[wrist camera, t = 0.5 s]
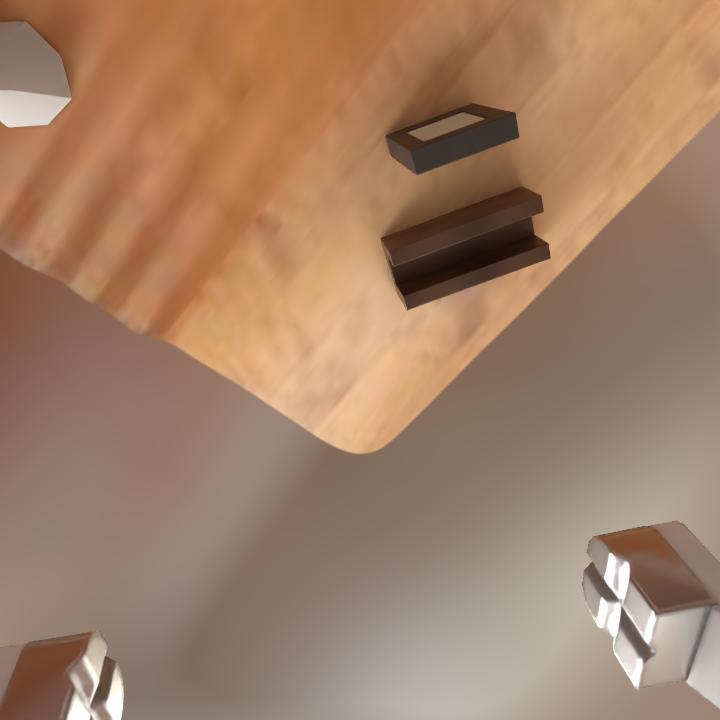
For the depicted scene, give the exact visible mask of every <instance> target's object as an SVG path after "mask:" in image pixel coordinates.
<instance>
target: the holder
mask: <svg viewBox="0 0 720 720" xmlns="http://www.w3.org/2000/svg"><path fill="white" fill-rule="evenodd" d="M542 212H544V211H543V204H542V197H541V195H539V194H537V193H535V192H533V191H531V190H529V189H527V188H525V187H520V188H517V189H514V190H512V191H509V192H506V193H503V194H501V195H498V196H495V197H492V198H490V199H487V200H484V201H481V202H479V203H476V204H473V205H471V206H468V207H465V208H462V209H460V210H457V211H454V212H451V213H449V214H446V215H443V216H441V217H438V218H435V219H432V220H430V221H427V222H424V223H421V224H419V225H416V226H413V227H410V228H408V229H405V230H402V231H400V232H397V233H394V234H391V235H389V236H386V237H383V238H381V242H382V245H383V249H384V252H385V255H386V258H387V261H388V265H389V268H390V271H391V274H392V278H393V281H394V284H395V287H396V291H397V294H398V296H399V297H400V299H401V301H402V302H403V304H404V306H405V308H406V309H407V310H410V309H412V308H415V307H418V306H421V305H423V304H426V303H429V302H432V301H434V300H437V299H440V298H443V297H445V296H448V295H451V294H454V293H456V292H459V291H462V290H465V289H467V288H470V287H473V286H476V285H478V284H481V283H484V282H487V281H489V280H492V279H495V278H497V277H500V276H503V275H506V274H508V273H511V272H514V271H517V270H519V269H522V268H525V267H528V266H530V265H533V264H536V263H539V262H541V261H544V260H547V259H550V258H551V257H550V251H549V244H548V243H547V242H545V241H544V240H542V239H541V238H539V237H537V236H536V235H534V229H533V223H532V217H531V216H533V215H536V214H539V213H542Z"/></svg>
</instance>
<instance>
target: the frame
mask: <svg viewBox="0 0 720 720" xmlns="http://www.w3.org/2000/svg"><path fill="white" fill-rule="evenodd" d="M517 138H519V133H518V127H517V120H516V114H515V112H510V111H505V110H500V109H496V108H491V107H487V106H482V105H478V104H470V105H468V106H465V107H462V108H459V109H457V110H454V111H451V112H449V113H446V114H443V115H440V116H438V117H435V118H432V119H430V120H427V121H424V122H421V123H419V124H416V125H413V126H411V127H408V128H405V129H402V130H400V131H397V132H394V133H392V134H389V135H386V139H387V143H388V147H389V150H390V154H391V156H392V157H393V158H394V159H396V160H397V161H398V162H400V163H401V164H402V165H404V166H405V167H407V168H408V169H409V170H411V171H412V172H413V173H414V174H416V175H419V174H422V173H424V172H427V171H430V170H432V169H435V168H438V167H441V166H443V165H446V164H449V163H452V162H454V161H457V160H460V159H462V158H465V157H468V156H471V155H473V154H476V153H479V152H481V151H484V150H487V149H490V148H492V147H495V146H498V145H501V144H503V143H506V142H509V141H511V140H514V139H517Z"/></svg>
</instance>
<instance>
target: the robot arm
mask: <svg viewBox="0 0 720 720" xmlns="http://www.w3.org/2000/svg"><path fill="white" fill-rule="evenodd" d="M587 553H588V555H589V557H590V558H591V560H592V562H591V563H590V565H589V566H588V567H587V568H586V569H585V570H584V575H583V583H582V585H583V590H584V595H585V600H586V603H587V605H588V608H589V610H590V612H591V614H592V616H593V618H594V620H595V621H596V623H597V625H598V627H600V628H601V629H603V630H605V631H606V632H608V633H609V634H611V635H612V636H614V637H615V638H614V648H613V652H614V653H615V655H616V656H617V658H618V660H619V662H620V663H621V665H622V666H623V668H624V670H625V671H626V673H627V675H628V676H629V678H630V680H631V681H632V683H633V685H634V686H635V688H636V689H641V688H646V687H652V686H657V685H662V684H668V683H673V682H678V681H684V680H687V684H688V685H690V686H691V687H692V688H694V689H695V690H696V691H697V692H699V693H700V694H702V695H703V696H704V697H706V698H707V699H708V700H709V701H711V702H712V703H713V704H715V705H716V706H717V707H719V708H720V562H719V561H718V560H717V559H716V558H715V557H714V556H713V555H712V554H711V553H710V552H709V550H708V549H707V548H706V547H705V546H704V545H703V544H702V543H701V542H700V541H699V540H698V539H697V538H696V536H695V535H694V534H693V533H692V532H691V531H690V530H689V529H688V528H687V527H686V526H685V525H684V524H682V523H680V522H679V521H672V522H667V523H662V524H657V525H651V526H647V527H646V526H642V527H637V528H633V529H628V530H623V531H618V532H613V533H608V534H603V535H599V536H594V537H592V539H591V540H590V541H589V544H588V549H587ZM107 645H108V643H107V641H106V639H105V637H104V636H103V634H102V632H101V631H95V632H88V633H82V634H77V635H70V636H64V637H57V638H52V639H46V640H39V641H33V642H27V643H21V644H16V645H10V646H4V647H0V720H120V718H121V712H122V707H123V682H122V676H121V672H120V669H119V667H118V664H117V662H116V661H114V660H112V659H110V658H108V657H106V656H105V654H106V650H107Z"/></svg>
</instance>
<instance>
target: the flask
mask: <svg viewBox="0 0 720 720" xmlns="http://www.w3.org/2000/svg"><path fill="white" fill-rule="evenodd" d="M71 99H72V96H71V92H70V88H69V85H68V81H67V77H66V73H65V70H64V66H63V62H62V58H61V56H60V55H59V54H58V53H57V52H56V51H55V50H54V49H53V48H52V47H51V46H50V45H49V44H48V43H47V42H46V41H45V40H44V39H43V38H42V37H41V36H40V35H39V34H38V33H37V32H36V31H35V30H34V29H33V27H32V26H31V25H30V24H29V23H28V22H27V21H17V22H0V121H1V122H2V123H3V124H5V125H6V126H7V127H22V126H37V125H48V124H49V123H50V122H51V121H52V120H53V119H54V118H55V116H56V115H57V114H58V113H59V112H60V111H61V110H62V109H63V108H64V107H65V106H66V105H67V104H68V102H69V101H70V100H71Z"/></svg>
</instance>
